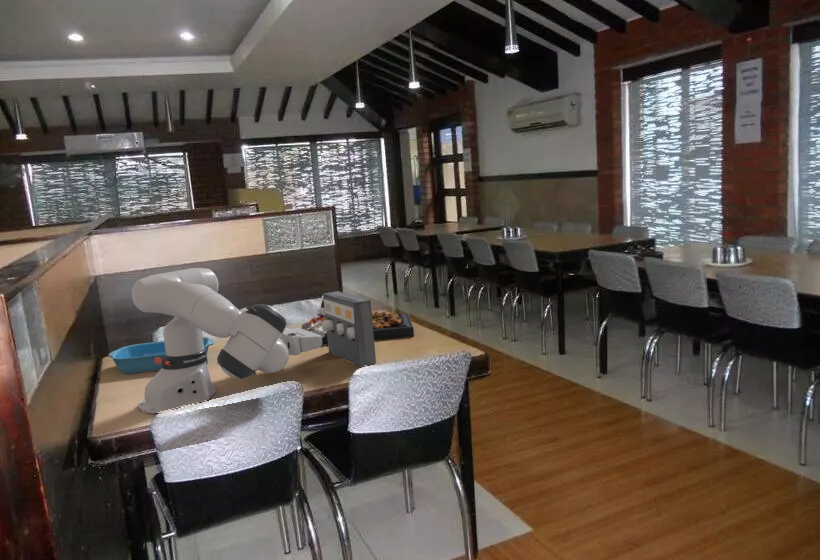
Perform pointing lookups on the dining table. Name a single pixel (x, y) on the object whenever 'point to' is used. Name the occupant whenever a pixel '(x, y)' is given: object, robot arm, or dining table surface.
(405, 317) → the food platter
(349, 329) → the button right
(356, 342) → the button panel
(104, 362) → the dining table surface
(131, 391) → the dining table surface
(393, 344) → the dining table surface
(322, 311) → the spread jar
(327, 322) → the button left
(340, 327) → the button middle
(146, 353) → the casserole dish
